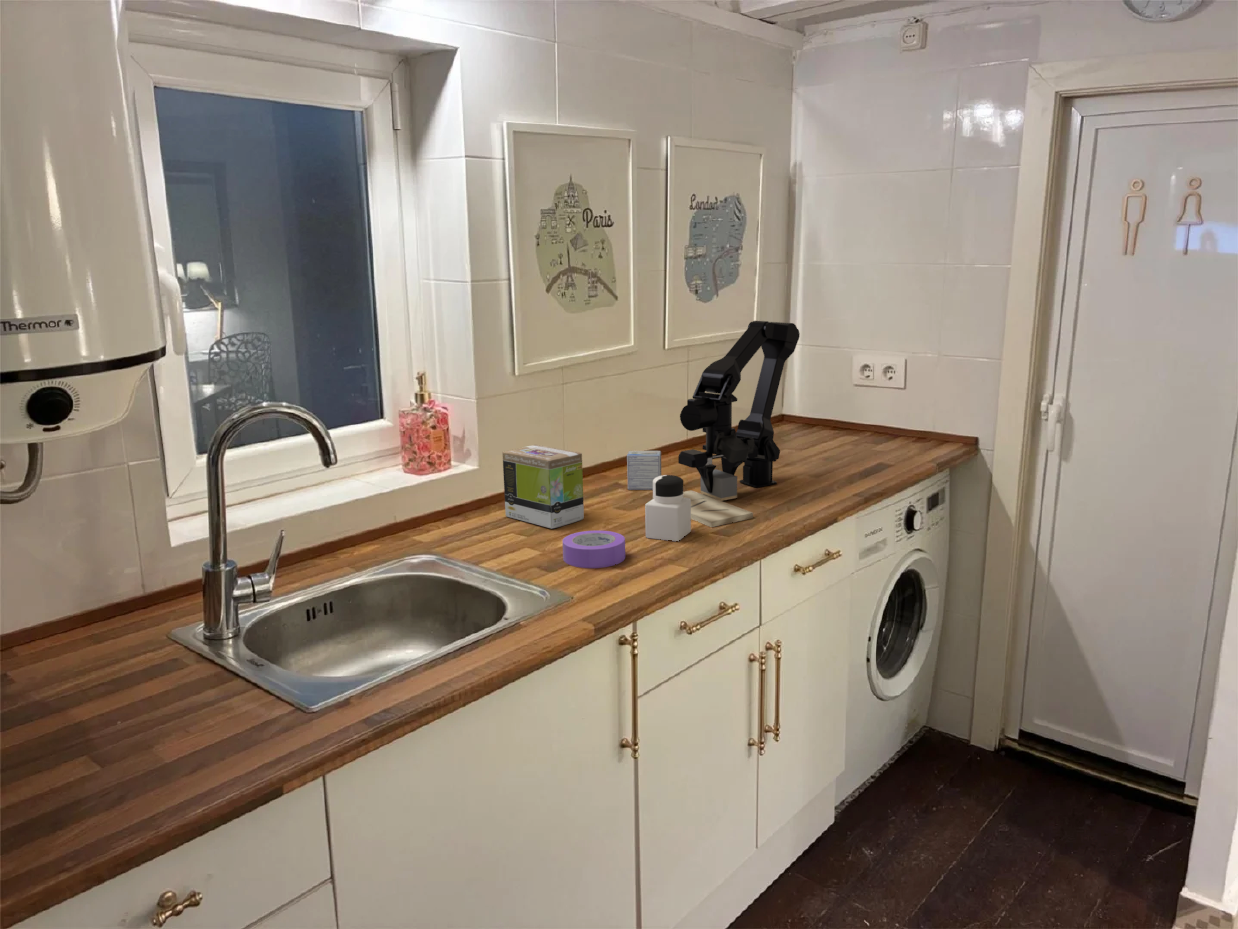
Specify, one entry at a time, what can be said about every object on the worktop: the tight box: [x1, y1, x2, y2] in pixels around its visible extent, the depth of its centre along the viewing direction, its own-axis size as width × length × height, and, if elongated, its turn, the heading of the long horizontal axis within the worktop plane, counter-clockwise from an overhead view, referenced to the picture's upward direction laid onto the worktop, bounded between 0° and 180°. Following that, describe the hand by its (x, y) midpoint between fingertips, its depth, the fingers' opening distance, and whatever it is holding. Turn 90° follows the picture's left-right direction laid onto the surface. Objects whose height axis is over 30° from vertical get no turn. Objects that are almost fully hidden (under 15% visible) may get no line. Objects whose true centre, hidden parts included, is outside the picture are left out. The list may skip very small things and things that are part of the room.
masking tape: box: [562, 530, 626, 569], centre depth 176 cm, size 12×12×4 cm
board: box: [651, 490, 754, 528], centre depth 205 cm, size 11×22×1 cm, turn 32°
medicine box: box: [626, 450, 662, 491], centre depth 223 cm, size 8×4×9 cm, turn 84°
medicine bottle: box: [644, 474, 692, 542], centre depth 187 cm, size 7×7×12 cm
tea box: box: [502, 444, 585, 529], centre depth 200 cm, size 15×10×15 cm
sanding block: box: [700, 468, 738, 502], centre depth 214 cm, size 4×8×5 cm, turn 30°
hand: (718, 490), depth 214 cm, fingers closed on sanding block, 4 cm apart
